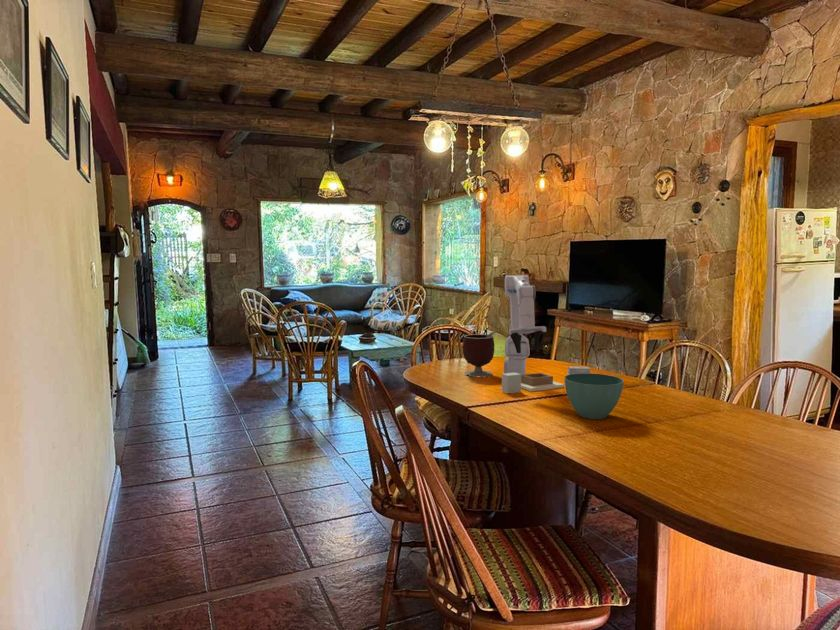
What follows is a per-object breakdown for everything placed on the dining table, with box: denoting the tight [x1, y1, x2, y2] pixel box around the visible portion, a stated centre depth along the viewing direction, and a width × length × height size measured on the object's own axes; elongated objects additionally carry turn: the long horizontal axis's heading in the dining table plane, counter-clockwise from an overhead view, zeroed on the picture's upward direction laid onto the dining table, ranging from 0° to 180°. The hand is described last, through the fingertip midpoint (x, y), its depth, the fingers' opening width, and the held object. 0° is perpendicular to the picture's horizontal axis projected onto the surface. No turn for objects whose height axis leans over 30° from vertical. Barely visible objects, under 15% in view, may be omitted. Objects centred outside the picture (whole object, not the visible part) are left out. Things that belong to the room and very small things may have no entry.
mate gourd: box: [462, 330, 499, 378], centre depth 252 cm, size 16×14×20 cm
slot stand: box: [521, 372, 565, 392], centre depth 229 cm, size 14×16×4 cm
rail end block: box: [501, 372, 522, 394], centre depth 219 cm, size 4×6×7 cm, turn 116°
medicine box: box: [567, 366, 591, 375], centre depth 223 cm, size 8×4×9 cm, turn 84°
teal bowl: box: [564, 372, 625, 420], centre depth 184 cm, size 18×18×12 cm
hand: (527, 352), depth 214 cm, fingers open, 7 cm apart
